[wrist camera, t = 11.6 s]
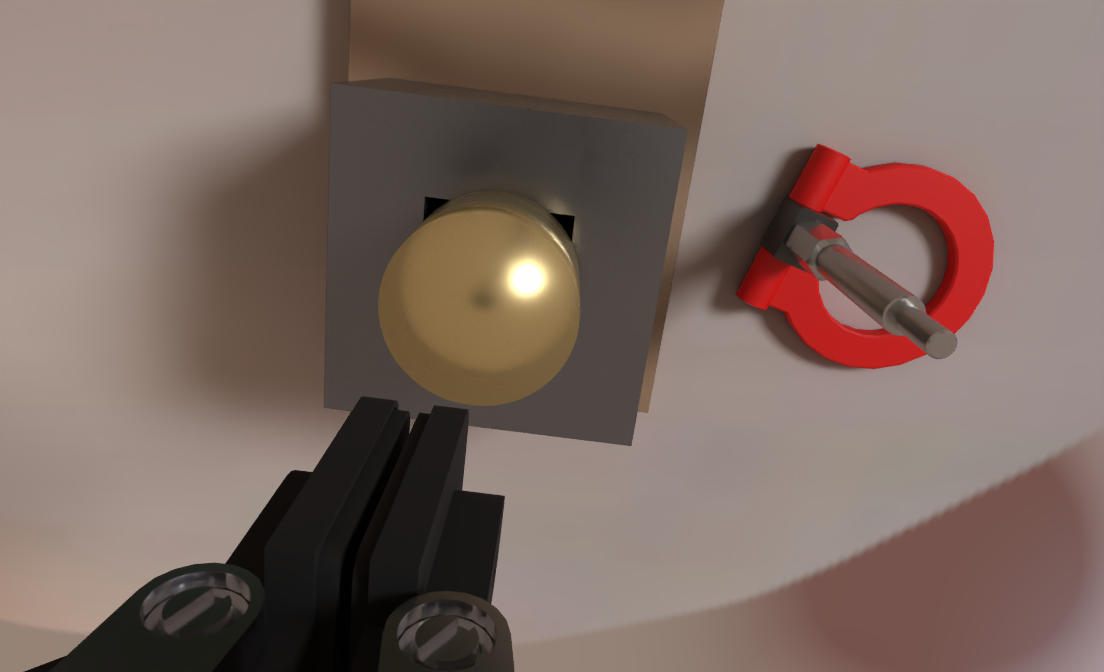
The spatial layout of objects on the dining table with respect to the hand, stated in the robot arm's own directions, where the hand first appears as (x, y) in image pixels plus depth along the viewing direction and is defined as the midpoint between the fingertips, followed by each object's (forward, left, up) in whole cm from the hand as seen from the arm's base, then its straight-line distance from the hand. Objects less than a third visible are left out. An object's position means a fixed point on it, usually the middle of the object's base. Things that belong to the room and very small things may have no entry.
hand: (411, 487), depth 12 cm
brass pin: (0, 0, -18) cm, 18 cm away
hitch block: (0, 0, -19) cm, 19 cm away
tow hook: (0, +15, -21) cm, 25 cm away
